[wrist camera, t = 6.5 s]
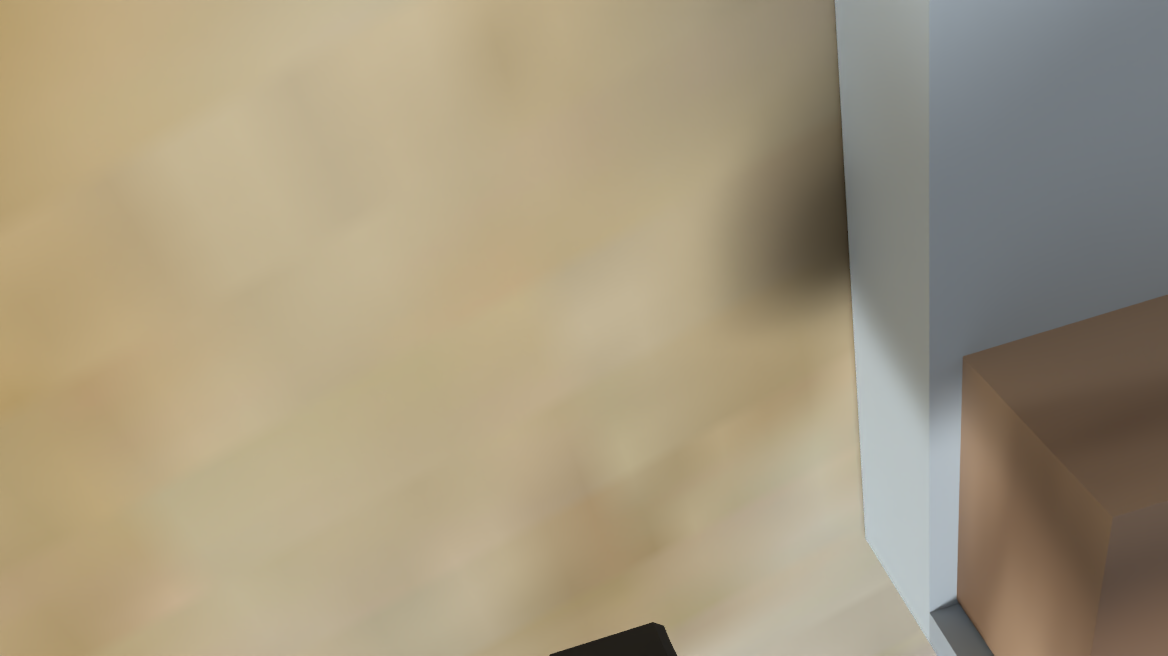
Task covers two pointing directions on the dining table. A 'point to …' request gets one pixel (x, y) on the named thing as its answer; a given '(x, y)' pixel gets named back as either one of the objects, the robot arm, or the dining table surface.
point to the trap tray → (984, 228)
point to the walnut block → (1068, 488)
